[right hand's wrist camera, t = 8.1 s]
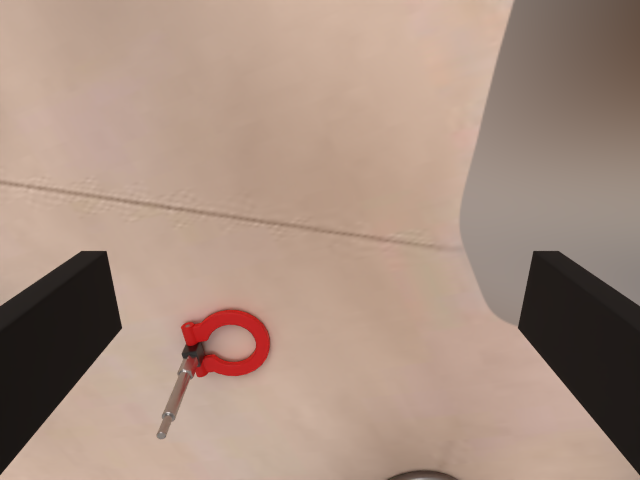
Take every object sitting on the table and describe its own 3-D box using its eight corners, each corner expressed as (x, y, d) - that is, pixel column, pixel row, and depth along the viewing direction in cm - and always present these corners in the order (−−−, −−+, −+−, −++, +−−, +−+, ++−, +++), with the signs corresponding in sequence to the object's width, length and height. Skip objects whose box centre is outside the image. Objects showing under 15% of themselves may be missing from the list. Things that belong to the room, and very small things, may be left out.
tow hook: (261, 302, 45) (180, 315, 45) (248, 381, 33) (136, 399, 33) (276, 363, 48) (199, 376, 48) (268, 456, 36) (166, 473, 36)
